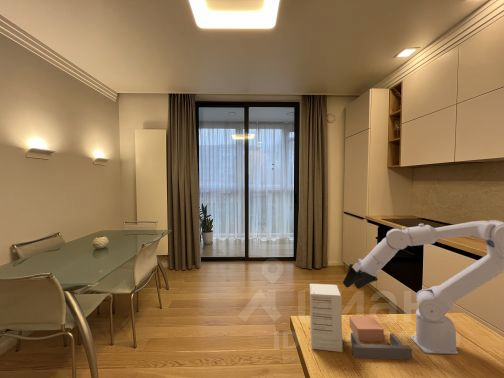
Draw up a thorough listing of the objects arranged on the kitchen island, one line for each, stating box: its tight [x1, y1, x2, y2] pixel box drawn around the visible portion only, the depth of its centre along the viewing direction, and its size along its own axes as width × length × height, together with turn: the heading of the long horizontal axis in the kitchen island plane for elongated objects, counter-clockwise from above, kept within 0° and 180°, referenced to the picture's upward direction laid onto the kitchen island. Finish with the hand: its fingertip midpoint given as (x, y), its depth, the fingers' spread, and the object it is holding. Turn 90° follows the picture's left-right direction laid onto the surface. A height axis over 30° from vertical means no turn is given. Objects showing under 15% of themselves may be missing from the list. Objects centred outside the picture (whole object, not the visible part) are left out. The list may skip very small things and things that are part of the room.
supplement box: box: [309, 283, 343, 353], centre depth 79 cm, size 10×9×17 cm
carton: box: [348, 316, 385, 342], centre depth 83 cm, size 8×8×4 cm
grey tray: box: [350, 332, 413, 360], centre depth 75 cm, size 16×8×3 cm, turn 86°
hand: (350, 285), depth 87 cm, fingers open, 7 cm apart
